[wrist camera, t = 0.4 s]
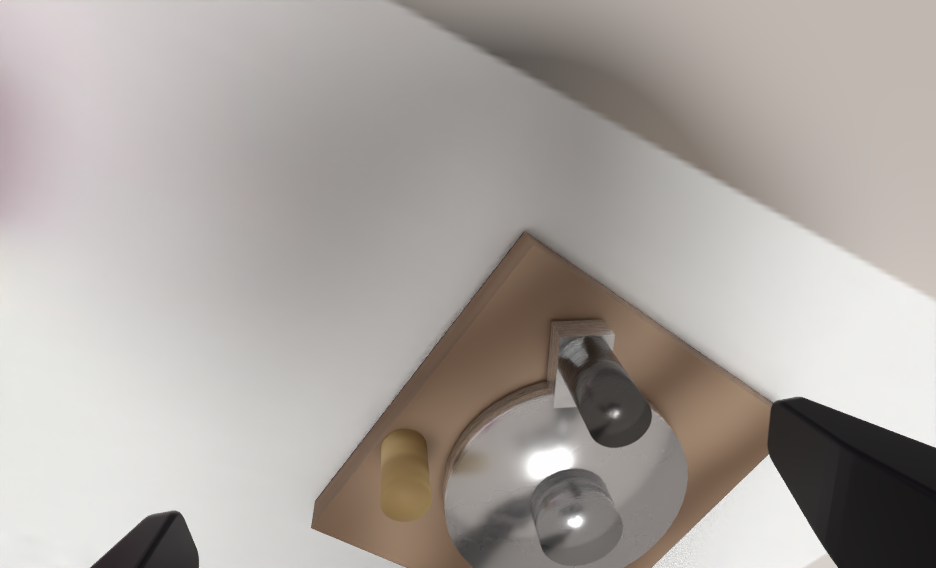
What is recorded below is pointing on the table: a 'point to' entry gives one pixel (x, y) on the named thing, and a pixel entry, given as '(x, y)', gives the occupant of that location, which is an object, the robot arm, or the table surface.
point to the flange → (566, 466)
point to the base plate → (517, 367)
